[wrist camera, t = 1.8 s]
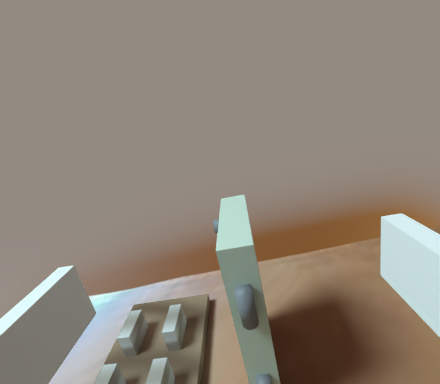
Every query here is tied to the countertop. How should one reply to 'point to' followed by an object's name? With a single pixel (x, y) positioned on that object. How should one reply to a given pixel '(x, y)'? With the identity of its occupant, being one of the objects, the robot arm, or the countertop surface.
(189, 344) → the hinge base
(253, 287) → the door
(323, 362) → the countertop surface
